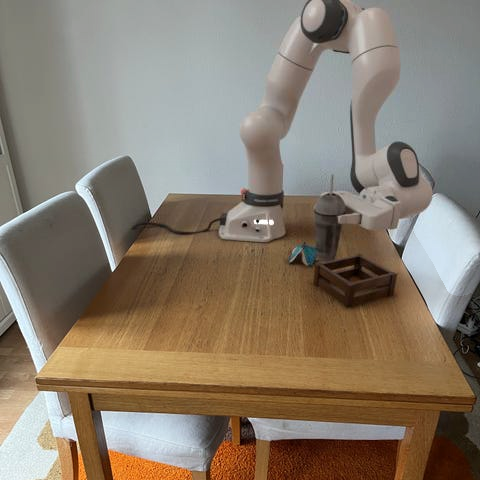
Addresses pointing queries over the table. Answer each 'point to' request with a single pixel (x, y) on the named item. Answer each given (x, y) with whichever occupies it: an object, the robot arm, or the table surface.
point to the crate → (381, 282)
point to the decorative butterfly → (305, 254)
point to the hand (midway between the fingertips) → (326, 214)
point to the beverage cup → (328, 224)
